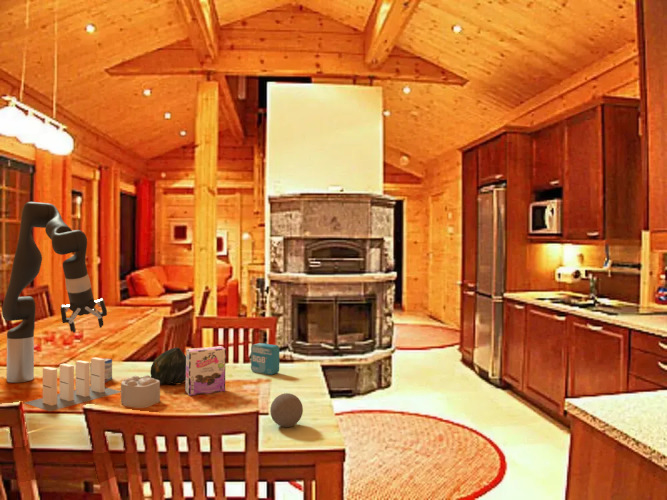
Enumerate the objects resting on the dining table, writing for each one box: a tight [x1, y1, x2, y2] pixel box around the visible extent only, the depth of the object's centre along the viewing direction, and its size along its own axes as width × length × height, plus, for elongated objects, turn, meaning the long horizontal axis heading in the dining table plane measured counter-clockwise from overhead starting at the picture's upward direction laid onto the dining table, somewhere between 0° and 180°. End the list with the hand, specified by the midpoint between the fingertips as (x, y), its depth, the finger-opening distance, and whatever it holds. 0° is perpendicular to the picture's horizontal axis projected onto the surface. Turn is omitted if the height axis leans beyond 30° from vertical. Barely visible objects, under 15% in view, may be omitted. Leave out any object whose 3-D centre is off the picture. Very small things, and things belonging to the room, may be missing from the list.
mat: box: [24, 385, 121, 412], centre depth 188 cm, size 16×27×1 cm, turn 148°
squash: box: [149, 347, 186, 386], centre depth 209 cm, size 14×15×15 cm
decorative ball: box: [269, 392, 304, 428], centre depth 163 cm, size 10×10×10 cm
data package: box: [250, 342, 280, 376], centre depth 227 cm, size 12×4×12 cm, turn 60°
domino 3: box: [75, 360, 91, 397], centre depth 190 cm, size 2×6×12 cm, turn 58°
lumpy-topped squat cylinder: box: [120, 374, 161, 409], centre depth 184 cm, size 10×13×9 cm
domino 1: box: [42, 366, 58, 406], centre depth 180 cm, size 2×6×12 cm, turn 58°
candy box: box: [184, 345, 227, 396], centre depth 198 cm, size 14×6×16 cm, turn 117°
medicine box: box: [90, 358, 113, 384], centre depth 209 cm, size 8×4×9 cm, turn 168°
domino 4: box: [90, 357, 106, 393], centre depth 195 cm, size 2×6×12 cm, turn 58°
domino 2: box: [59, 363, 75, 401], centre depth 185 cm, size 2×6×12 cm, turn 58°
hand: (87, 329), depth 186 cm, fingers open, 8 cm apart
